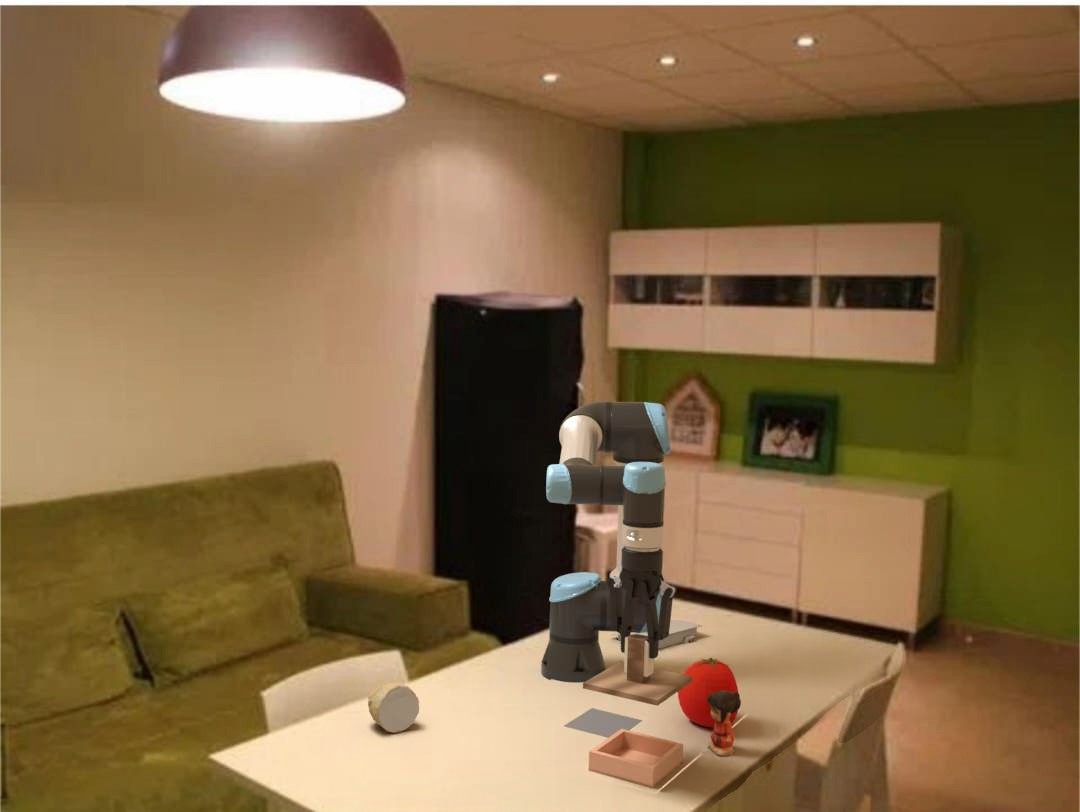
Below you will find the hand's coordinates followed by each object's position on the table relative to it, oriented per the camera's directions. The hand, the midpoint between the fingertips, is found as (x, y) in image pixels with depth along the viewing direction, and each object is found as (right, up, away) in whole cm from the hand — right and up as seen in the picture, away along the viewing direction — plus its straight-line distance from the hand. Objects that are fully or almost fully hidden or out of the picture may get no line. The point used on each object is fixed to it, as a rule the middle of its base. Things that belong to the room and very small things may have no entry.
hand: (638, 672), depth 192 cm
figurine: (+17, -18, +11) cm, 27 cm away
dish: (0, -18, +1) cm, 18 cm away
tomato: (+16, -17, +23) cm, 33 cm away
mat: (-5, -16, +22) cm, 28 cm away
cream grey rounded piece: (-48, -16, +19) cm, 54 cm away
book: (+13, -13, +81) cm, 83 cm away
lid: (0, -2, 0) cm, 2 cm away
